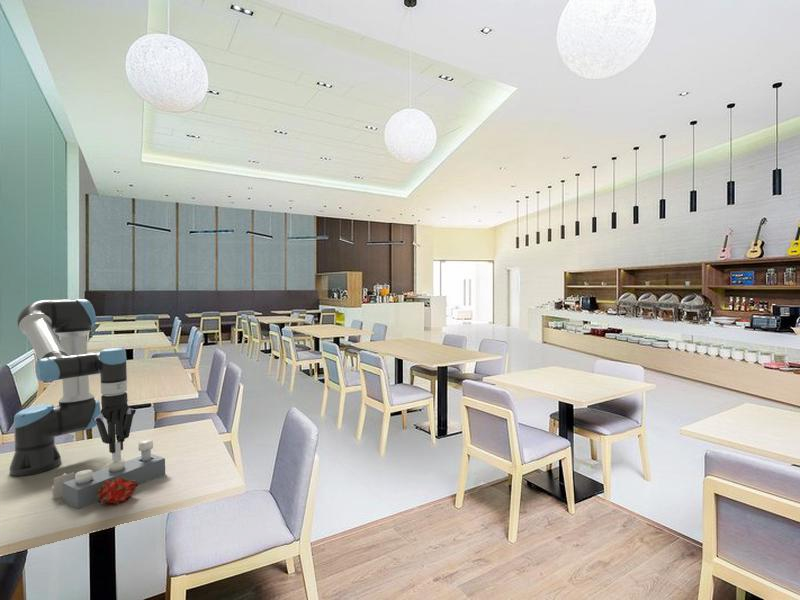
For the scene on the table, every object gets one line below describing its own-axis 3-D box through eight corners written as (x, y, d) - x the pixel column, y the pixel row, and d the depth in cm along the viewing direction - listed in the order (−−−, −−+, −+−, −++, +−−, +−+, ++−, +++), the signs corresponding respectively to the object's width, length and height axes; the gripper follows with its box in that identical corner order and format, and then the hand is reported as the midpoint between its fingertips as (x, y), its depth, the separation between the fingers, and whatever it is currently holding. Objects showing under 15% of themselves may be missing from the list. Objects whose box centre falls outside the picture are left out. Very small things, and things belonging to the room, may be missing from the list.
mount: (63, 501, 139) (62, 482, 139) (149, 468, 163) (149, 453, 163) (78, 508, 134) (77, 489, 134) (165, 474, 158) (164, 458, 158)
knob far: (136, 464, 156) (135, 442, 156) (149, 459, 160) (148, 438, 160) (143, 467, 154) (142, 445, 154) (156, 462, 158) (155, 441, 158)
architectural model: (50, 497, 142) (50, 475, 142) (76, 489, 148) (75, 468, 148) (53, 500, 140) (53, 478, 140) (79, 492, 146) (78, 471, 145)
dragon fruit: (92, 513, 134) (135, 504, 143) (101, 504, 130) (144, 495, 139) (90, 486, 138) (132, 479, 147) (99, 476, 134) (141, 469, 143)
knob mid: (106, 485, 148) (106, 462, 147) (121, 480, 152) (120, 457, 151) (113, 488, 145) (113, 465, 145) (128, 482, 149) (127, 460, 149)
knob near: (73, 498, 139) (72, 473, 139) (89, 492, 143) (88, 468, 143) (80, 501, 137) (79, 476, 137) (96, 495, 141) (95, 471, 140)
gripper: (98, 399, 140) (101, 470, 141) (139, 390, 151) (142, 456, 152) (87, 396, 144) (90, 465, 145) (128, 388, 155) (130, 452, 156)
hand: (116, 460), depth 148 cm, fingers closed
